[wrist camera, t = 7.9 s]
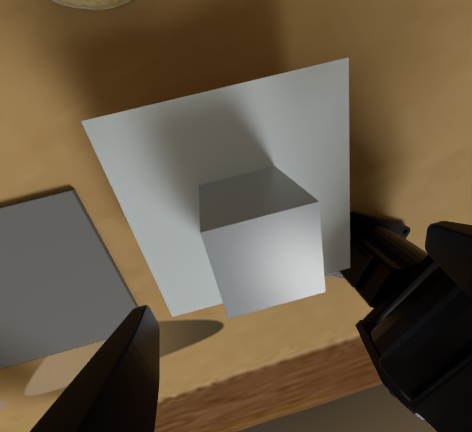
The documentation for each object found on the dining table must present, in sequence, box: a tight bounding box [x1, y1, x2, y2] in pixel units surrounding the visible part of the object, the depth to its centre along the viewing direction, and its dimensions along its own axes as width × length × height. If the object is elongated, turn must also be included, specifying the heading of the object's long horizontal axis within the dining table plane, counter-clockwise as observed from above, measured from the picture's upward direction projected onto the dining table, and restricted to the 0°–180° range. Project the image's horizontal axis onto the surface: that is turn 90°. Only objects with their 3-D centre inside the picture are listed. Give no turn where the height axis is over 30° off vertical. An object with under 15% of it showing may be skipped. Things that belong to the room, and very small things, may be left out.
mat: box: [0, 189, 138, 369], centre depth 20 cm, size 14×14×1 cm
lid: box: [81, 57, 350, 319], centre depth 11 cm, size 12×12×6 cm
